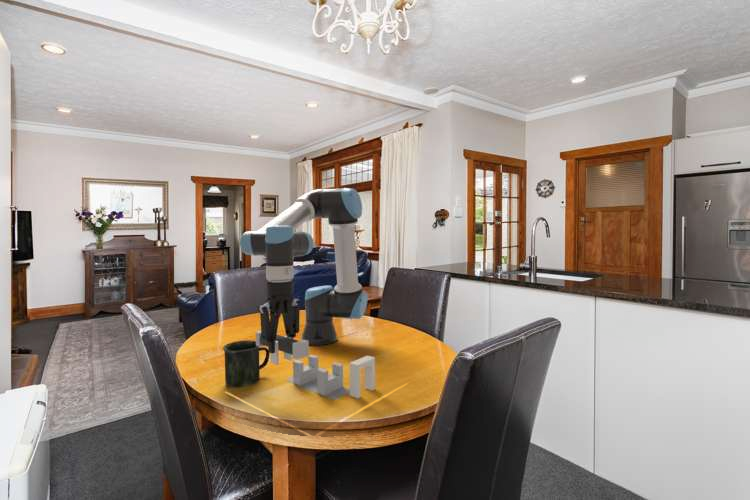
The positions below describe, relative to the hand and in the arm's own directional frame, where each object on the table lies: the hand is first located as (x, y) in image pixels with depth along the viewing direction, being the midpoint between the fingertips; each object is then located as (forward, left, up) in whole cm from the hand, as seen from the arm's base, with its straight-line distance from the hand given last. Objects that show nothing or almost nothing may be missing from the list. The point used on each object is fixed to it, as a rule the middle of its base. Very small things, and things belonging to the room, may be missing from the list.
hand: (281, 361), depth 111 cm
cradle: (+2, +12, -11) cm, 17 cm away
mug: (-19, +1, -11) cm, 22 cm away
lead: (0, 0, +3) cm, 3 cm away
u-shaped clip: (+16, +17, -11) cm, 26 cm away
